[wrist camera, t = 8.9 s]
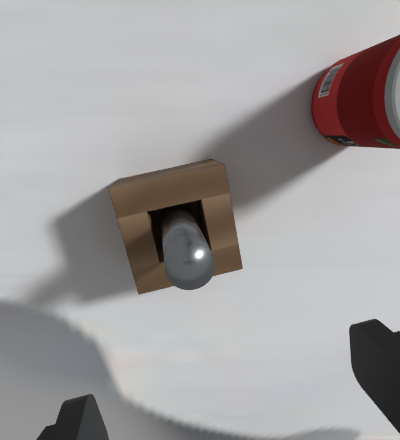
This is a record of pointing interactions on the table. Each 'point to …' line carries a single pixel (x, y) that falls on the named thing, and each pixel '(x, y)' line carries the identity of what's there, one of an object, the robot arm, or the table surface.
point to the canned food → (361, 98)
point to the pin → (185, 249)
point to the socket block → (169, 196)
